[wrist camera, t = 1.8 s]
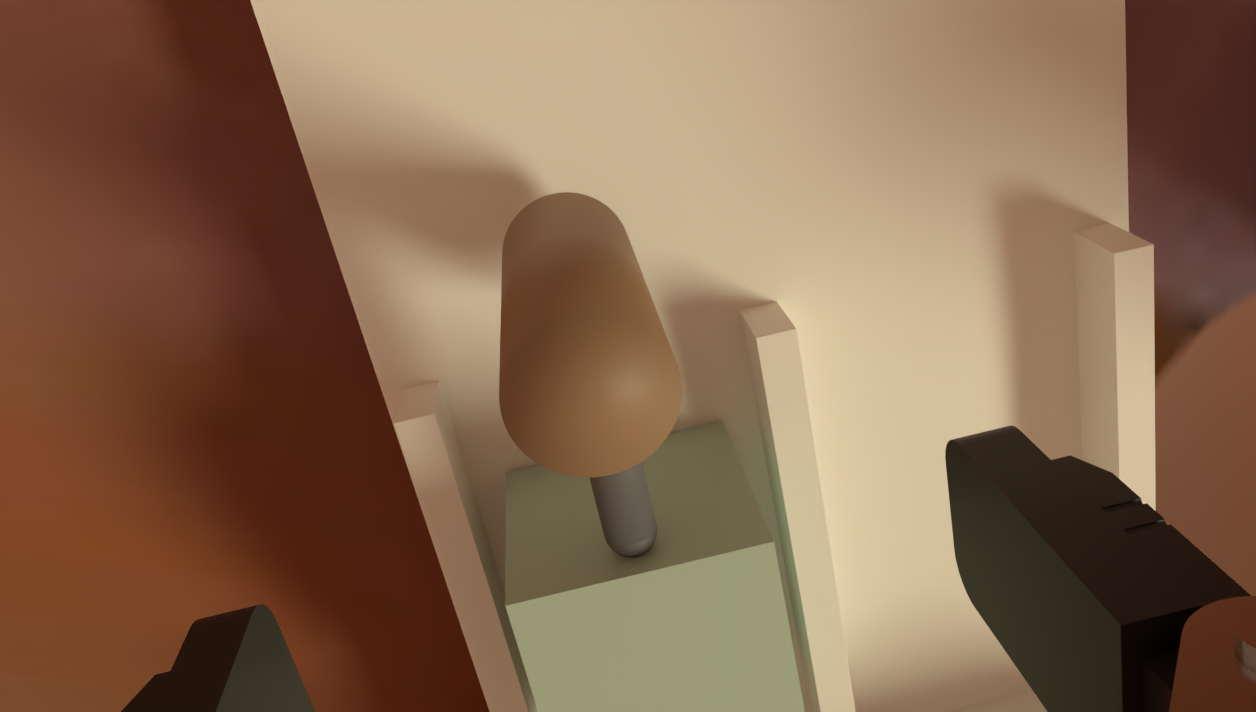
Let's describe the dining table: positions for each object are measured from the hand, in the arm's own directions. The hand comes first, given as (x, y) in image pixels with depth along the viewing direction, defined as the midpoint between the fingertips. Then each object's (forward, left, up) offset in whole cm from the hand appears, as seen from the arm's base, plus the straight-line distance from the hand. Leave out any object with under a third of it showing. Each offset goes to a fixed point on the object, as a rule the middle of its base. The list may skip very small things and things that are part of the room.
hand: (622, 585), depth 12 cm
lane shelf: (+3, +5, -18) cm, 19 cm away
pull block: (+6, 0, -15) cm, 16 cm away
